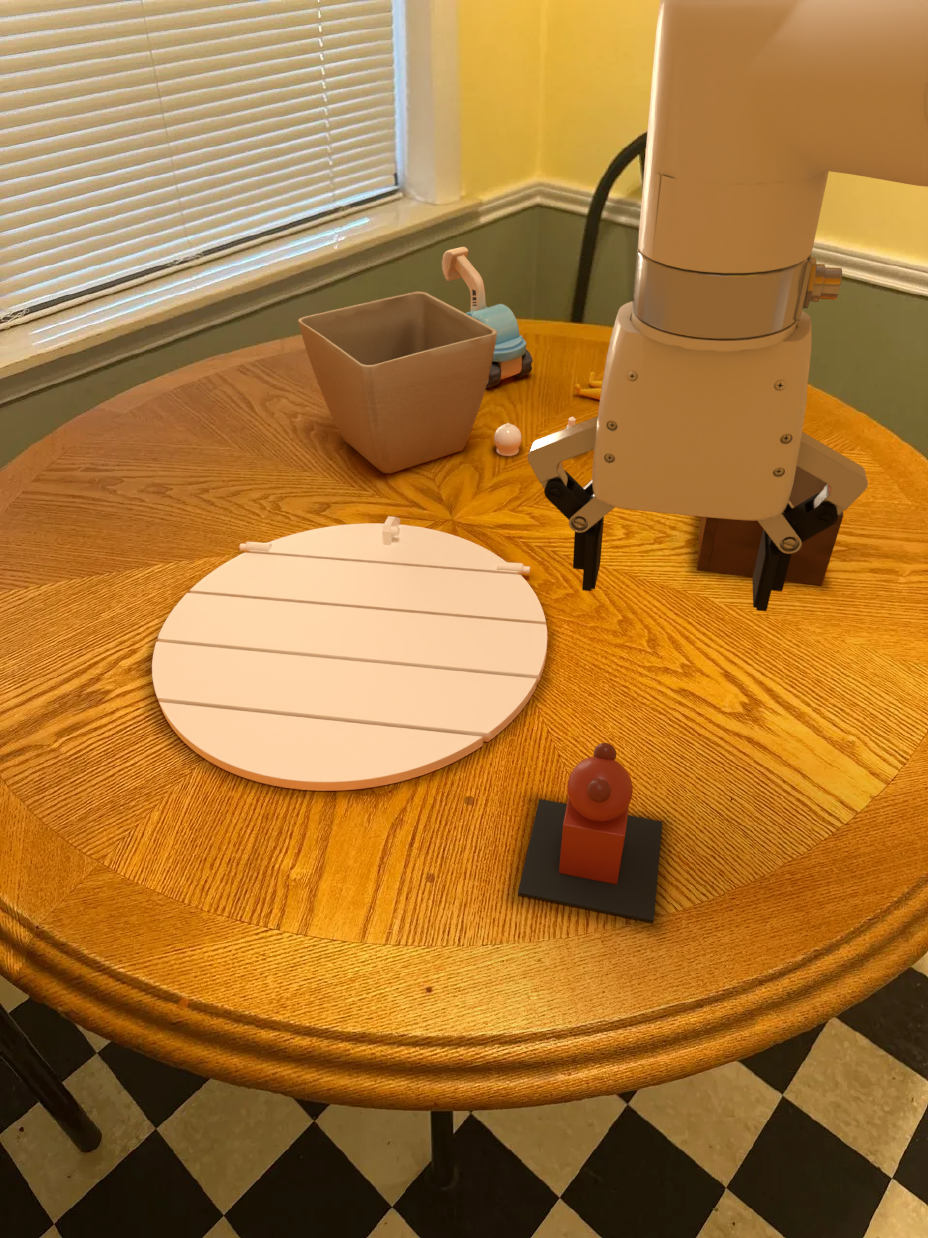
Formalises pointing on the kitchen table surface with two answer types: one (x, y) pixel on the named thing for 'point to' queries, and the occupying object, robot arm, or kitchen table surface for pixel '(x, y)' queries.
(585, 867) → the ball-topped red block
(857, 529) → the kitchen table surface
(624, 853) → the mat
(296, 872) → the kitchen table surface
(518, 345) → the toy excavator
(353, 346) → the flower pot
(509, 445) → the decorative object set
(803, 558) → the wooden box with backboard
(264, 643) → the round plank board
